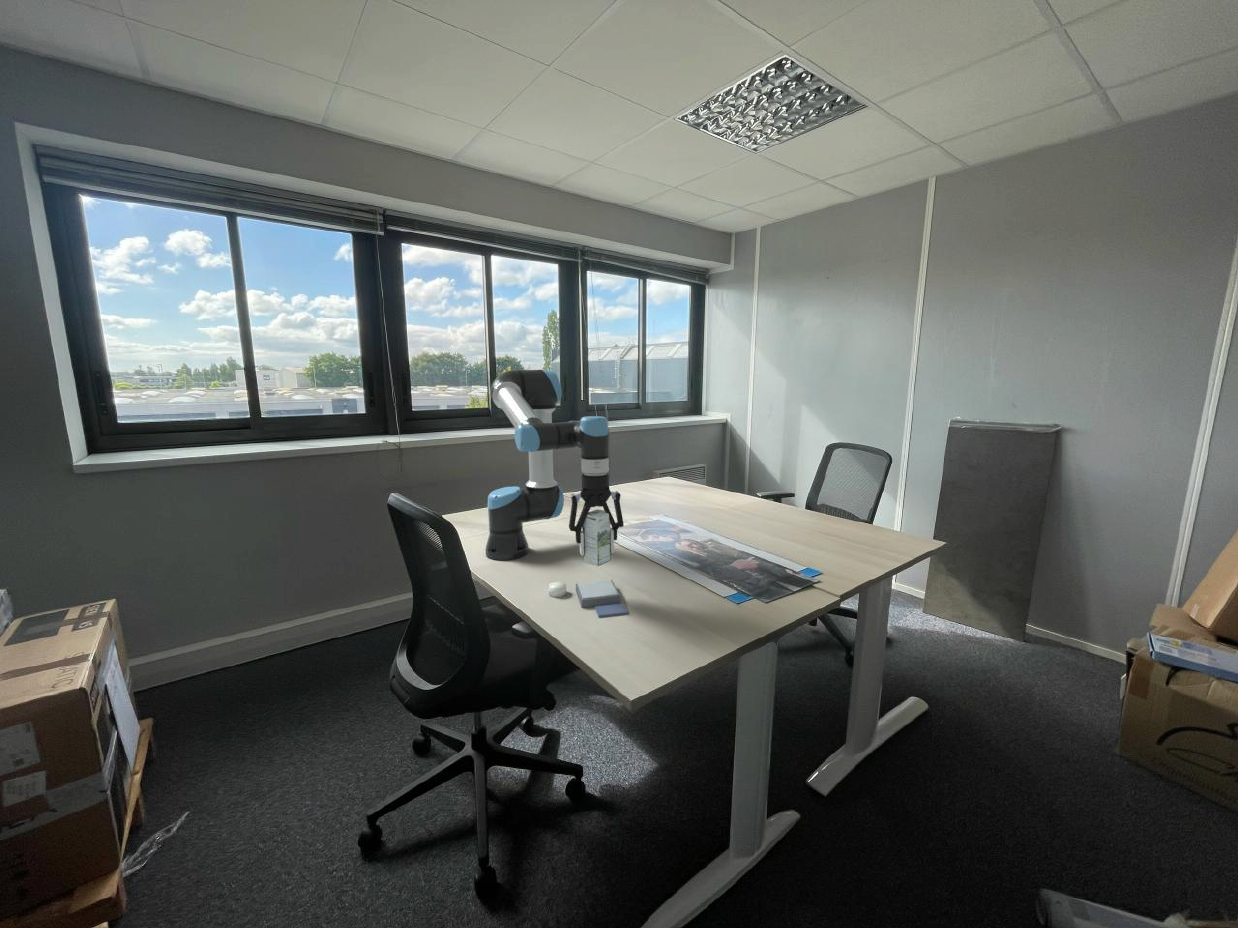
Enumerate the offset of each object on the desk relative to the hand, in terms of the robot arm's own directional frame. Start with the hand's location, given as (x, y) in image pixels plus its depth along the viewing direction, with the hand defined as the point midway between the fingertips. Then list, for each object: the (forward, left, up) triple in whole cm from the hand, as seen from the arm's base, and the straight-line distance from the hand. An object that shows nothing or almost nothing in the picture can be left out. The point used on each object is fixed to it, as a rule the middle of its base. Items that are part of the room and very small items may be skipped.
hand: (596, 552), depth 137 cm
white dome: (-5, -11, -13) cm, 18 cm away
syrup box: (0, 0, -3) cm, 3 cm away
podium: (0, 0, -13) cm, 13 cm away
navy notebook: (+9, +2, -14) cm, 17 cm away
